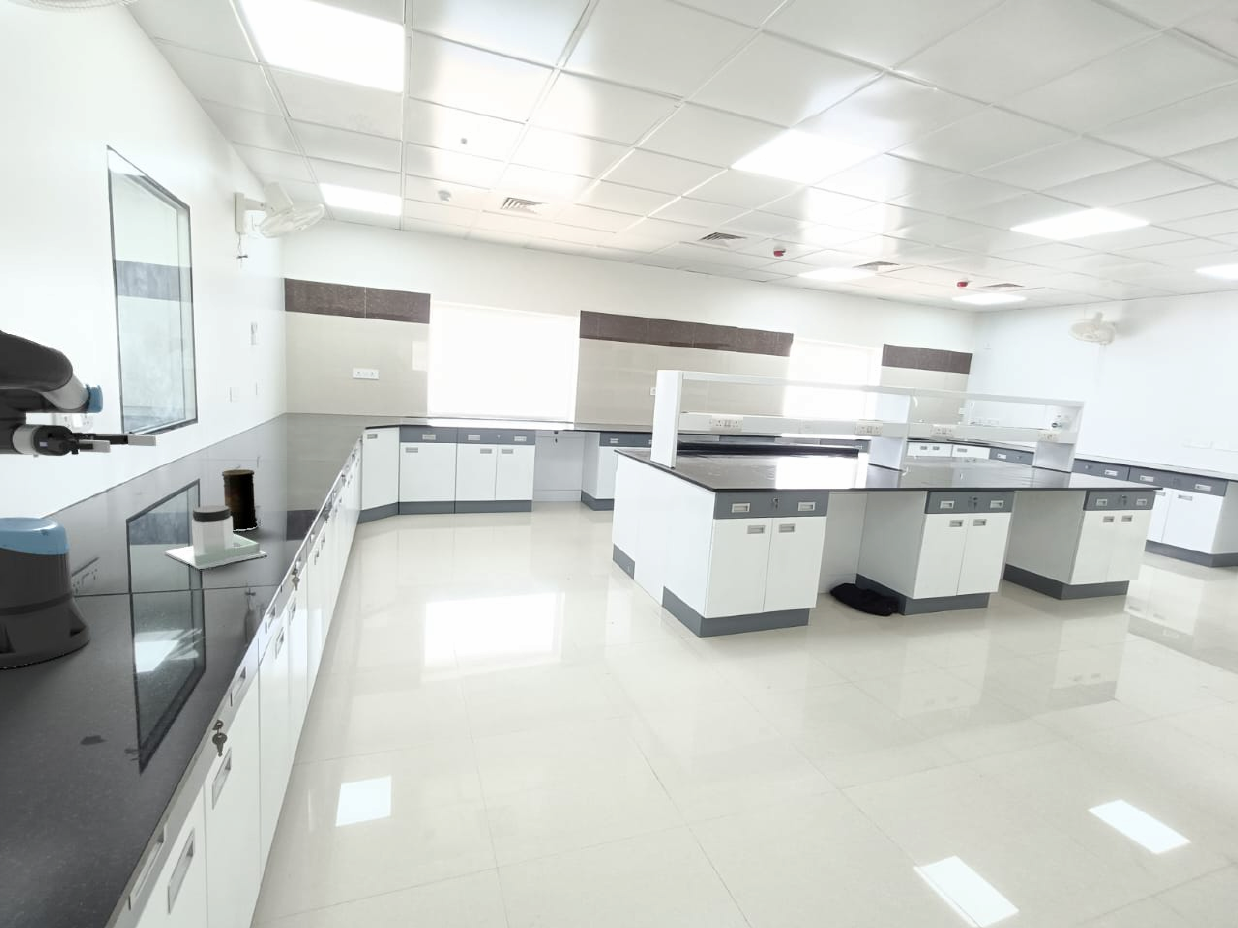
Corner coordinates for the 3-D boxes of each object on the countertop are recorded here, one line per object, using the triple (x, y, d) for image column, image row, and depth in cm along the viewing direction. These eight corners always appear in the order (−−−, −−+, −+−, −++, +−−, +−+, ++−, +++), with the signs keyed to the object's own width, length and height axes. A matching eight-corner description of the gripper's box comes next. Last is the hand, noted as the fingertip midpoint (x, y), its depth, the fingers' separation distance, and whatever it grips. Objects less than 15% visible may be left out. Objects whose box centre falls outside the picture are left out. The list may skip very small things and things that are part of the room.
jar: (207, 547, 162) (205, 504, 160) (239, 547, 163) (237, 505, 161) (187, 557, 153) (184, 512, 151) (221, 557, 154) (218, 512, 152)
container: (226, 525, 186) (223, 469, 183) (259, 523, 190) (256, 468, 187) (221, 533, 178) (217, 474, 175) (256, 531, 182) (253, 473, 179)
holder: (266, 555, 160) (266, 544, 160) (199, 570, 147) (198, 558, 146) (231, 541, 171) (230, 531, 170) (165, 554, 158) (164, 543, 157)
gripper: (92, 449, 157) (172, 452, 157) (-6, 462, 133) (88, 466, 133) (90, 421, 156) (170, 424, 156) (-10, 429, 132) (85, 432, 132)
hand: (133, 443), depth 145 cm, fingers open, 13 cm apart
